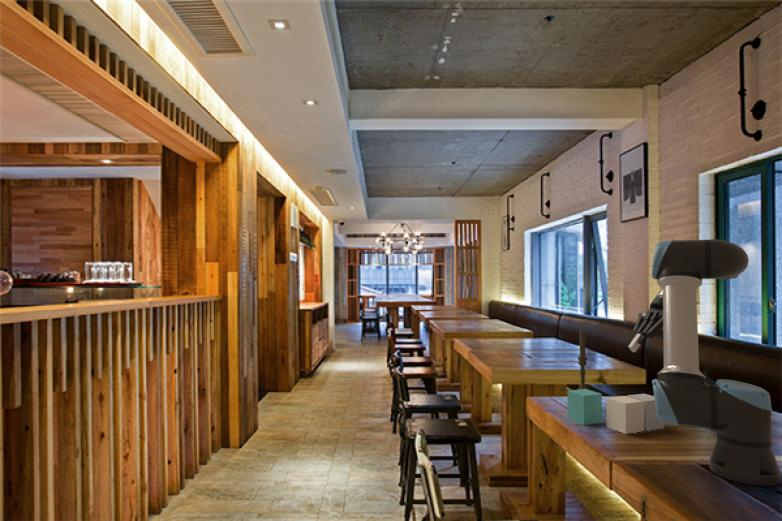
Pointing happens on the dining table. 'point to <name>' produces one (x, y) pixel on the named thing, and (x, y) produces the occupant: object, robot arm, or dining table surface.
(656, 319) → the robot arm
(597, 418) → the teal block
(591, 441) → the dining table surface
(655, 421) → the grey block
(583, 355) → the candlestick holder
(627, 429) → the cream block
